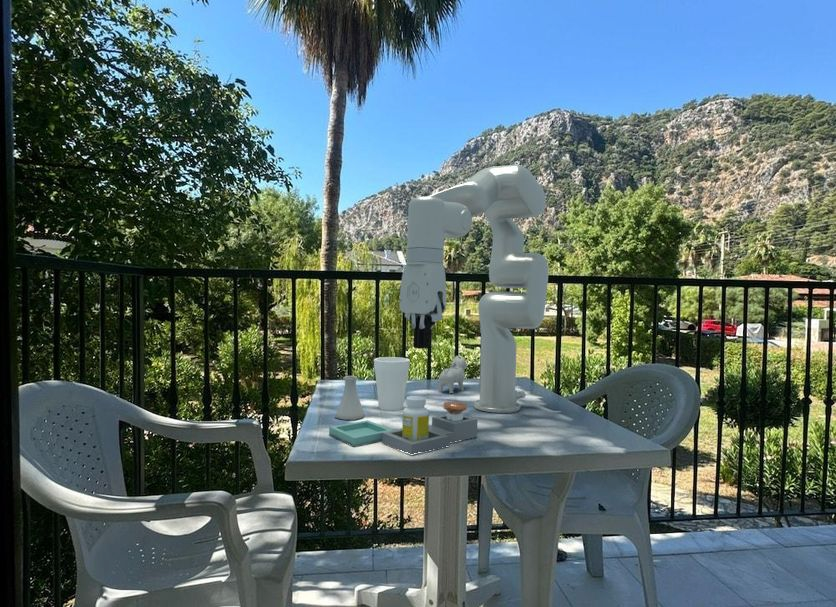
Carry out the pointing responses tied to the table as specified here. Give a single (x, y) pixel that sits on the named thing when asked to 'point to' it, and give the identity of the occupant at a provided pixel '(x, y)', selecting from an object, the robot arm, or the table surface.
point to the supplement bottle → (415, 419)
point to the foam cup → (391, 381)
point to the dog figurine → (453, 374)
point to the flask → (350, 401)
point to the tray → (358, 432)
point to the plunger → (455, 410)
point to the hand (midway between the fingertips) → (421, 347)
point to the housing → (434, 435)
